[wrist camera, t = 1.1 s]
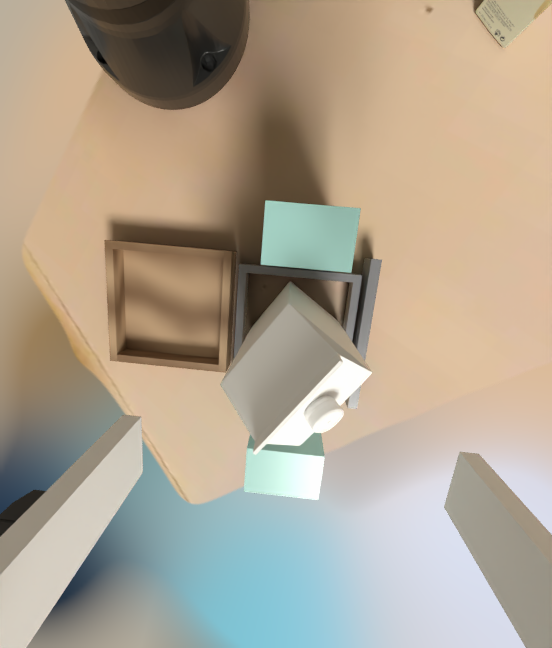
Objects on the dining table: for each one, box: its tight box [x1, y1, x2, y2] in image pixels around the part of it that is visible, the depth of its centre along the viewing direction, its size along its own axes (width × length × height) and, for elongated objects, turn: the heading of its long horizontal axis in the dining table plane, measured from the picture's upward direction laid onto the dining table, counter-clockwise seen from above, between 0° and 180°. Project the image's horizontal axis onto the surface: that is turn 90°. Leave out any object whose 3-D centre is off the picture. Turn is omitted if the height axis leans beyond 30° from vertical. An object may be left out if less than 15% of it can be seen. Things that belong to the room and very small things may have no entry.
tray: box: [105, 240, 236, 373], centre depth 33 cm, size 13×13×3 cm
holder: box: [234, 200, 382, 500], centre depth 28 cm, size 23×14×13 cm, turn 175°
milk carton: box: [220, 281, 372, 455], centre depth 25 cm, size 7×7×19 cm
